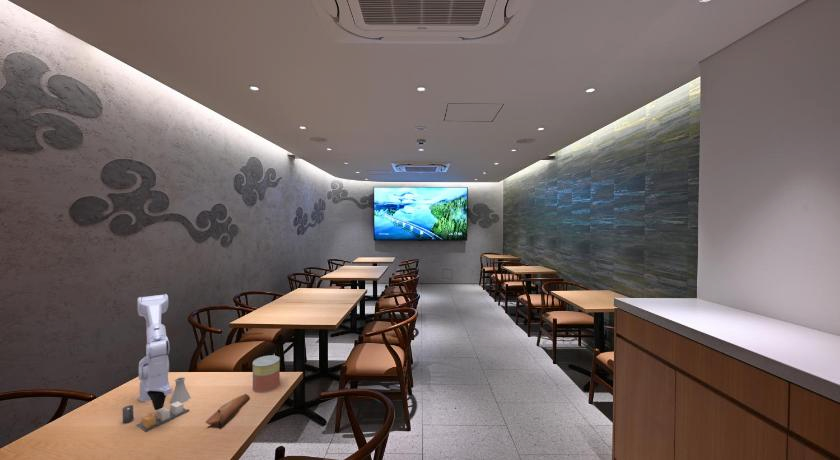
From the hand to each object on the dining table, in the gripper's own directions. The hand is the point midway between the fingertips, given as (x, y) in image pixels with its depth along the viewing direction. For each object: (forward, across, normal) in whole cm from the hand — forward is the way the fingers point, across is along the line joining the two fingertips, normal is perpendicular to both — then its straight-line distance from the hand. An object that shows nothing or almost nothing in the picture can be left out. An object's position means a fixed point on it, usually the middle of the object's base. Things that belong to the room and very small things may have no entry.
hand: (158, 408), depth 119 cm
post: (+5, -10, -6) cm, 12 cm away
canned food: (+6, +12, +36) cm, 39 cm away
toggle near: (+4, 0, +6) cm, 7 cm away
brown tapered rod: (+6, +17, +15) cm, 23 cm away
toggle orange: (+4, 0, -3) cm, 5 cm away
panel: (+5, 0, +1) cm, 6 cm away
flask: (+6, -8, +11) cm, 15 cm away
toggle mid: (+4, 0, +1) cm, 5 cm away
